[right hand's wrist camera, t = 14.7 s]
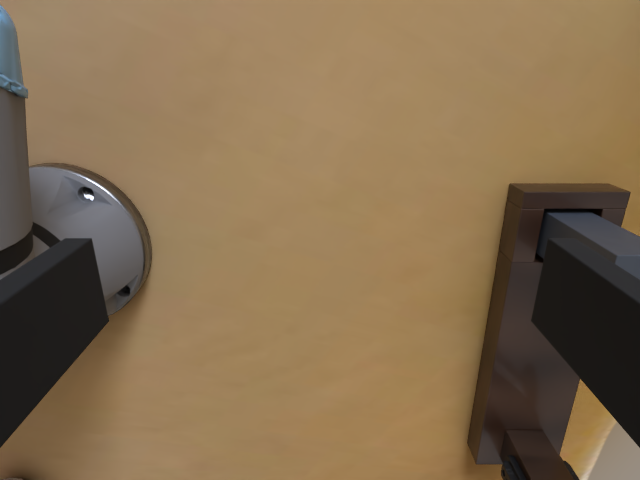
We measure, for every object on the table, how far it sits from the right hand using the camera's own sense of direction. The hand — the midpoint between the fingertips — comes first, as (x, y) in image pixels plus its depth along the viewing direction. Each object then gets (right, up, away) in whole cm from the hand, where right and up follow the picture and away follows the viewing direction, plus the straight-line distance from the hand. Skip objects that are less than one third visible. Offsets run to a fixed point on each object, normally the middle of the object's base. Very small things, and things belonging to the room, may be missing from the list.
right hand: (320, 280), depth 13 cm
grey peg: (+22, +3, +28) cm, 35 cm away
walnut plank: (+22, -9, +32) cm, 40 cm away
